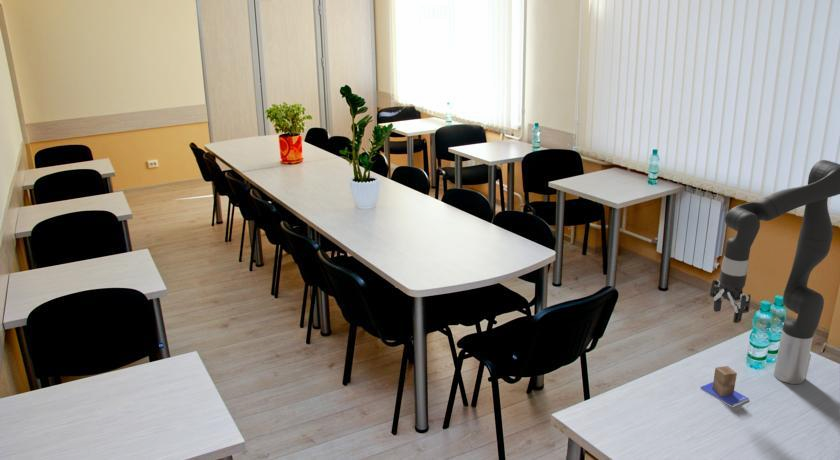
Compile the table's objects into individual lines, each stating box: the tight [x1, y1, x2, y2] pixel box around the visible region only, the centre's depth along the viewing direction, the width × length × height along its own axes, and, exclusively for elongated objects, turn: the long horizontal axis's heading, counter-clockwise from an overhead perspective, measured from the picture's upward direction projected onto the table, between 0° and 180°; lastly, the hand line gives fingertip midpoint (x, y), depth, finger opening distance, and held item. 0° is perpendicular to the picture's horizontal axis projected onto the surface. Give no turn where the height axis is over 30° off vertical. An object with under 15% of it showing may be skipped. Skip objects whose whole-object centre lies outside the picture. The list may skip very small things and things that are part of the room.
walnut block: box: [712, 365, 738, 396], centre depth 226 cm, size 5×5×8 cm
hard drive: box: [700, 381, 750, 408], centre depth 227 cm, size 2×8×12 cm
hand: (726, 316), depth 222 cm, fingers open, 8 cm apart
